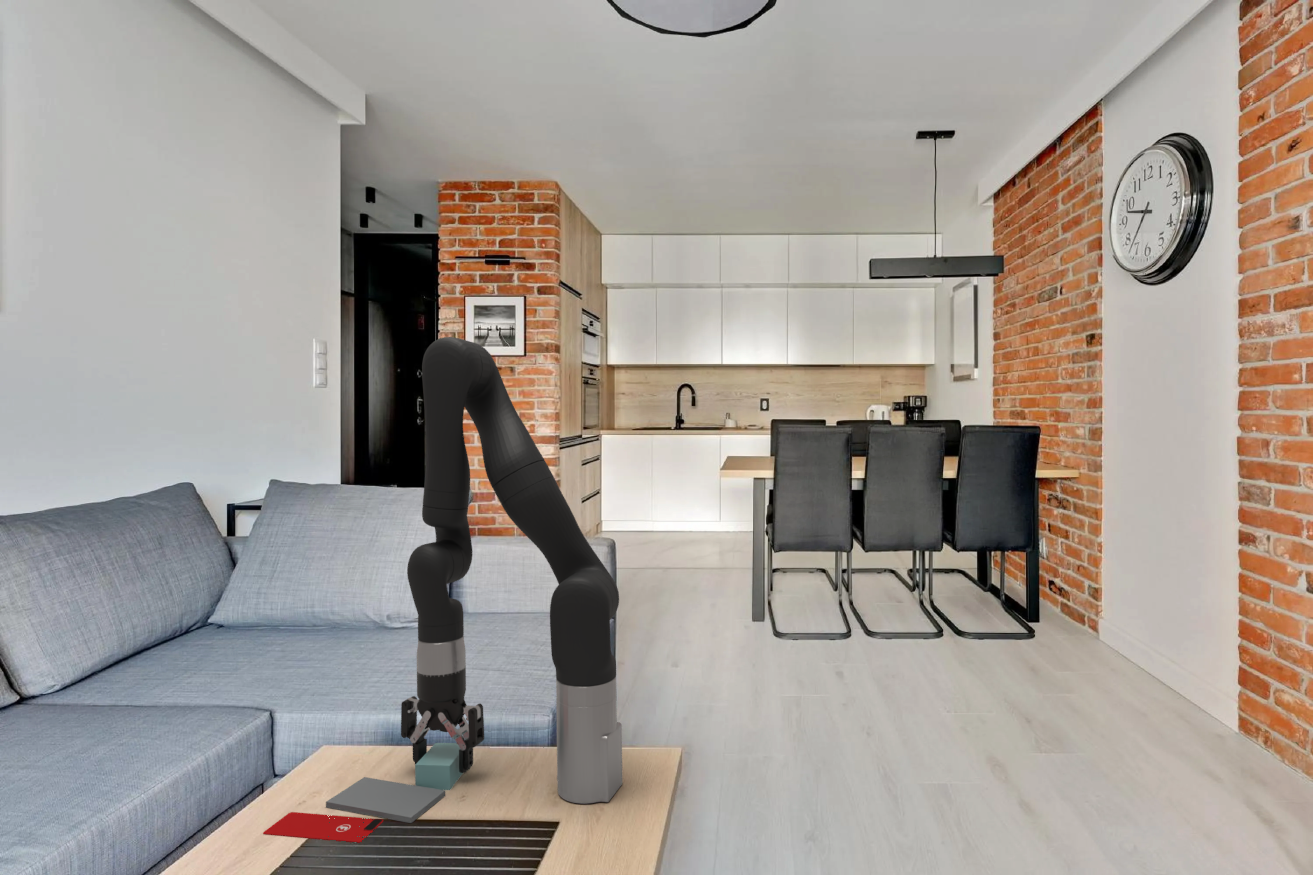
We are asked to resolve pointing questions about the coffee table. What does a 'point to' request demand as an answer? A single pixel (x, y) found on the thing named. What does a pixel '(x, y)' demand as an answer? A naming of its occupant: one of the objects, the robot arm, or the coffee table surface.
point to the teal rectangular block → (439, 767)
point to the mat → (386, 799)
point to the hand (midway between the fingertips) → (442, 767)
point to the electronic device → (323, 827)
